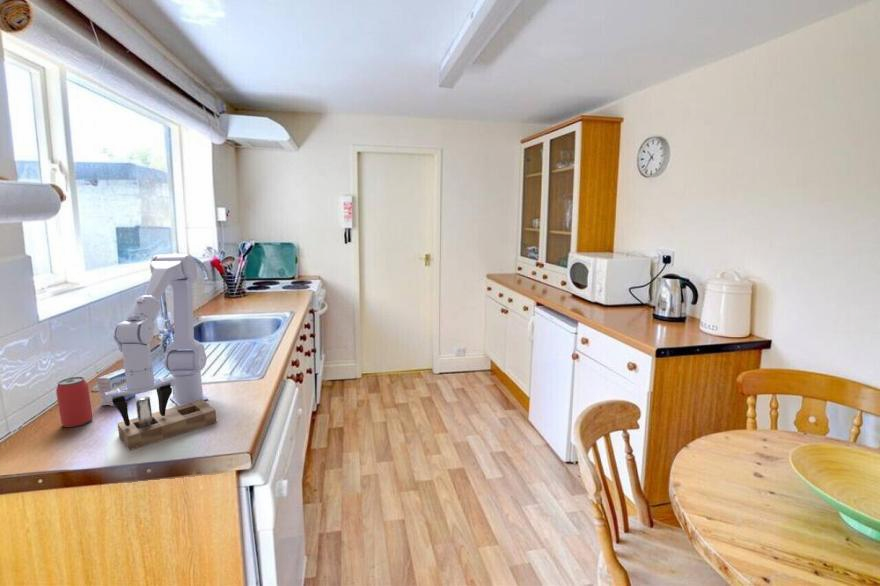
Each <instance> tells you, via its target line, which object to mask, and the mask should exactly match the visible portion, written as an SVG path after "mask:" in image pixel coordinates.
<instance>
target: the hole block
mask: <svg viewBox="0 0 880 586" xmlns="http://www.w3.org/2000/svg"><path fill="white" fill-rule="evenodd" d="M152 420H153V425H149V426H146V427H143V428H139V424H138V417H136V418H131V419H129V421H130V426H126V425H125V423H124V421H121V422H117V423H116V424H117V431H118V437H119V438H120V439H121V441H122V442H123V444H124V445H125V447H126V448H127V449H128V451H131V450H134V449H138V448H140V447H141V448H142V447H144V446H146V445H150V444H153V443H157V442H159V441H163V440H165V439H168V438H172V437H175V436H177V435H181V434H184V433H188V432H191V431H194V430H196V429H199V428H203V427H206V426H209V425H212V423H213V424H215V422H216V423H217V414H216V409H215V408H213V407H212V406H211V405H209V404H208V403H207V402H206V400H204V401H203V400H198V401H195V402H191V403H188V404H184V405H180V406H178V405H177V406H175V407H174V406H173V407H171V408H166V411H165V416H162V415H161V414H160V412H159V411H155V412H152Z"/></svg>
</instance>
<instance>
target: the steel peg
mask: <svg viewBox="0 0 880 586" xmlns="http://www.w3.org/2000/svg"><path fill="white" fill-rule="evenodd" d="M135 406H136V414H137V418H138V424H139V428H143V427H146V426H149V425H153V420H152V413H153V411H152V406H151V397H150V396H147V395H145V396H140V397H137V398H136V399H135Z"/></svg>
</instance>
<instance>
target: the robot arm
mask: <svg viewBox="0 0 880 586" xmlns="http://www.w3.org/2000/svg"><path fill="white" fill-rule="evenodd" d="M149 269H150V273H151V276H150V278H149V281H148V283H147V286H146V289H145V292H144V294H143V295H141V296H138V297H137V298H136V299H135V301H134V303H133V305H132V306H131V308H130V311H129V313H128V314H127V316H126V318H125V320H124V321H122V322H119V323H118V324H117V325H116V327H115V328H114V335H113V340H114V342H115V343H116V345H117V346H118V351H119V352H120V353H121V354H122V361H123V368H124V369H125V376H126V384H127V386H124V387H121V388H118V389H115V390H112V391H109V392H105V399H106V401H107V402H110V401H112V402H113V403H114V405H115V406H114V407H116V409H117V410H118V412H119V413H120V416H121V417H122V421H123V422H124V423H125V425H126V426H130V421H129V420H130V417H129V412H128V411H129V410H128V409H129V408H128V402H127V400H125V398H124V397H127V396H131V395H135V396H136V395H138V394H143V393H147V392H148V393H149V392H150V391H154V390H155V391H156V394H157V398H158V400H157V401H158V412H160V414H161V415H162V416H165V411H166V409H167V406H168V401H169V399H170V400H171V401H172V402H173V403H175V405H177V406H180V405H184V404H188V403H191V402H195V401H198V400H203V401H207V400H209V397H208V396H207V395H206V394H204V392H203V383H202V370H204V369H205V366H206V364H207V354H206V351H205V350H206V349H205V346H204V345H205V344H203V343H201V342H200V341H199V340H196V339H195V336H194V335H195V331H194V329H195V328H194V291H193V290H194V289H193V288H194V286H193V284H194V283H196V282H197V277H198V274H197V273H198V272H197V262H196V260H195V258H194V257H193V256H192V254H155V255H154V256H153V257H152V258H151V260H150V263H149ZM169 286H171V287H172V291H173V292H172V295H173V297H172V300H173V301H172V302H173V334H174V335H173V336H174V339H173V341H172V342H171V343H170V344H168V345H167V346H166V347H165V356H164V358H163V364H164V365H163V366H164V367H165V370H166V371H168V372H169V373H170V374H169V375H171V376H169V377H163V378H156V379H155V377H154V376H155V375H154V368H153V367H154V366H153V361H152V351H151V345H150V343H151V342H152V340H153V338H154V335H155V325H156V324H155V323H154V322H155V320H156V319H157V316H158V314H159V312H160V310H161V308H162V304H161V302H160V301H159V300H160V299H161V297H162V296H163V295H164V293H165V291H166V289H167V288H168V287H169ZM171 394H172V395H171Z"/></svg>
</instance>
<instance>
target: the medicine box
mask: <svg viewBox="0 0 880 586" xmlns="http://www.w3.org/2000/svg"><path fill="white" fill-rule="evenodd" d="M96 380H97V387H98V393H99V400H100V405H101V404H102V405H101V406H105V405H110V406H109V407H115V406H114V403H113V402H112V401H110V402H107V401H106V399H105V392H109V391H112V390H115V389H118V388H121V387H124V386H127V384H126V376H125V369H123V368H120V369H117V370H115V371H112V372H110V373H107V374H105V375H101V376H100V377H97V378H96ZM135 396H136V394H135V395H131V396H127V397H124V398H125V400H126V401H128V400H130V399H132V398H134V397H135ZM129 398H130V399H129ZM127 399H128V400H127Z"/></svg>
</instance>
